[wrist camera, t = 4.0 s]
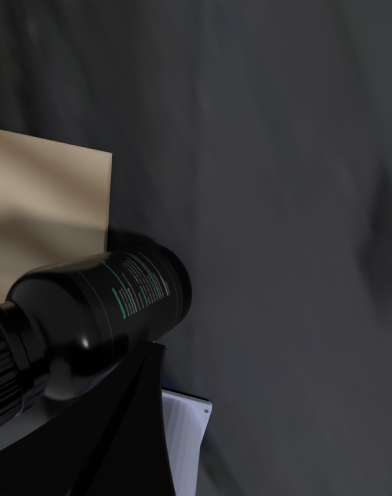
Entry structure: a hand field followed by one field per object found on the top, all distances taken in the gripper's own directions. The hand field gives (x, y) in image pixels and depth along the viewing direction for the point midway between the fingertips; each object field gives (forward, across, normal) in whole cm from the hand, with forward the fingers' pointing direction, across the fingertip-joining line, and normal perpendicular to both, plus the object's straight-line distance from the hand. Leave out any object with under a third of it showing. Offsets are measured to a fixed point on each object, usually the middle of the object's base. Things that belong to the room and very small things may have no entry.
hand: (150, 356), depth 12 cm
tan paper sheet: (+8, +13, 0) cm, 16 cm away
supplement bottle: (+7, +2, 0) cm, 7 cm away
